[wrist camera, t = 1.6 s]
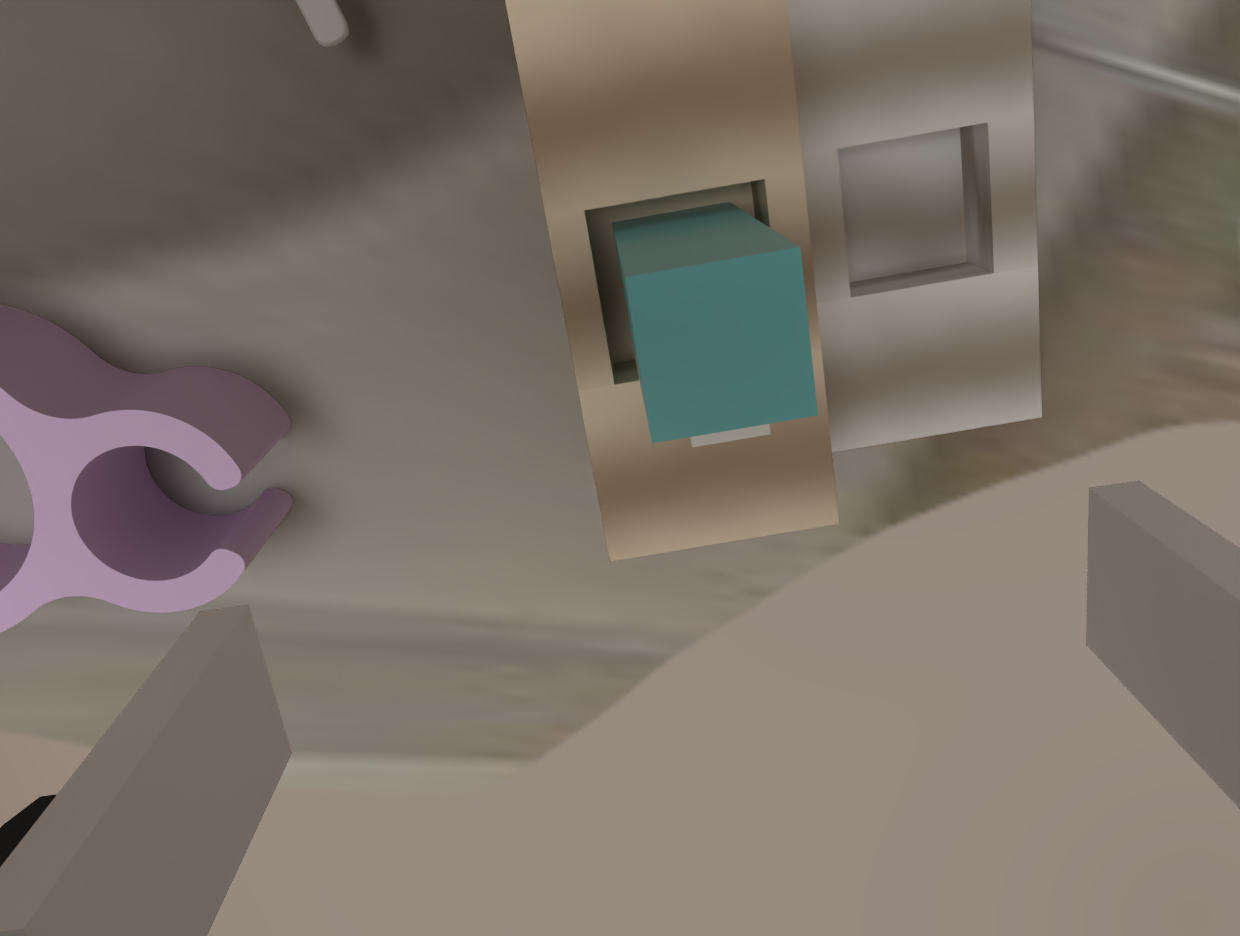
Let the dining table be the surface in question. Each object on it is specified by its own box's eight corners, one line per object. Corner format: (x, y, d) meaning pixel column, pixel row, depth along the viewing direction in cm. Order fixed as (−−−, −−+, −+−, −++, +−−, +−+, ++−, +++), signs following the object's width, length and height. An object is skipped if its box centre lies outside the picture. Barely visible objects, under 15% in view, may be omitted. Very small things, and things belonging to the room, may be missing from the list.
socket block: (526, 28, 39) (504, -2, 29) (985, -55, 39) (1131, -115, 29) (604, 458, 45) (610, 561, 35) (1003, 391, 45) (1128, 475, 35)
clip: (289, 324, 43) (236, 362, 37) (295, 588, 47) (248, 664, 41) (-200, 287, 42) (-344, 319, 35) (-150, 560, 46) (-272, 634, 40)
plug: (611, 222, 34) (624, 277, 23) (729, 201, 34) (800, 247, 23) (634, 356, 36) (656, 470, 24) (746, 337, 36) (821, 443, 24)
